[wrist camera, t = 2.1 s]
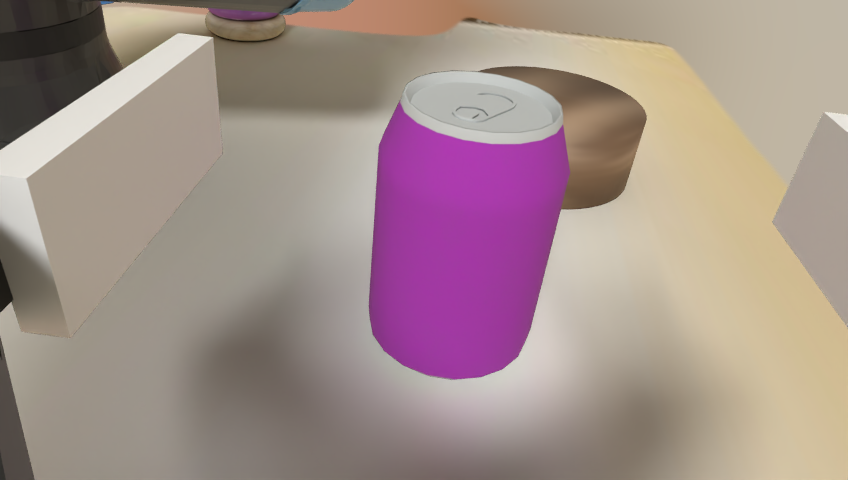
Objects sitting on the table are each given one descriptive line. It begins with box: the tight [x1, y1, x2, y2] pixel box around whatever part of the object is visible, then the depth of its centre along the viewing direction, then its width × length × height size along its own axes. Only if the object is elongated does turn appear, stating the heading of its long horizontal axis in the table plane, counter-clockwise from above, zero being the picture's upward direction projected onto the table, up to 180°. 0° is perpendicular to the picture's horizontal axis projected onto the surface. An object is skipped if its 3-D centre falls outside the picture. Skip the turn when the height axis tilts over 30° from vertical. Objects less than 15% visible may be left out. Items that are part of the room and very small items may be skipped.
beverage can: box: [369, 71, 570, 380], centre depth 28 cm, size 8×8×12 cm
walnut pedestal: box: [478, 66, 646, 209], centre depth 46 cm, size 13×13×5 cm
